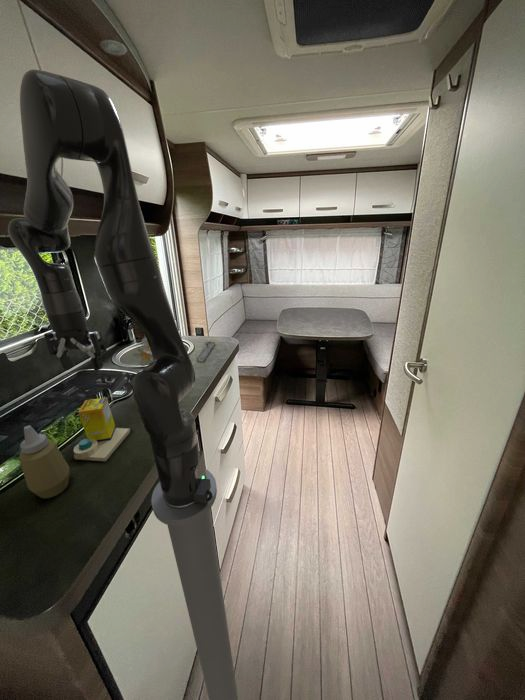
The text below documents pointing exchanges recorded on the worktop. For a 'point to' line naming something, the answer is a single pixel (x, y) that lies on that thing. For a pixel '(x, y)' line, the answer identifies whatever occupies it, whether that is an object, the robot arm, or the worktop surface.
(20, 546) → the worktop surface
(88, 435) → the supplement box
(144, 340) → the flower vase
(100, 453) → the scale
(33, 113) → the robot arm
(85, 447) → the button
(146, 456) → the worktop surface
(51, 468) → the squeeze bottle
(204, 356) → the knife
